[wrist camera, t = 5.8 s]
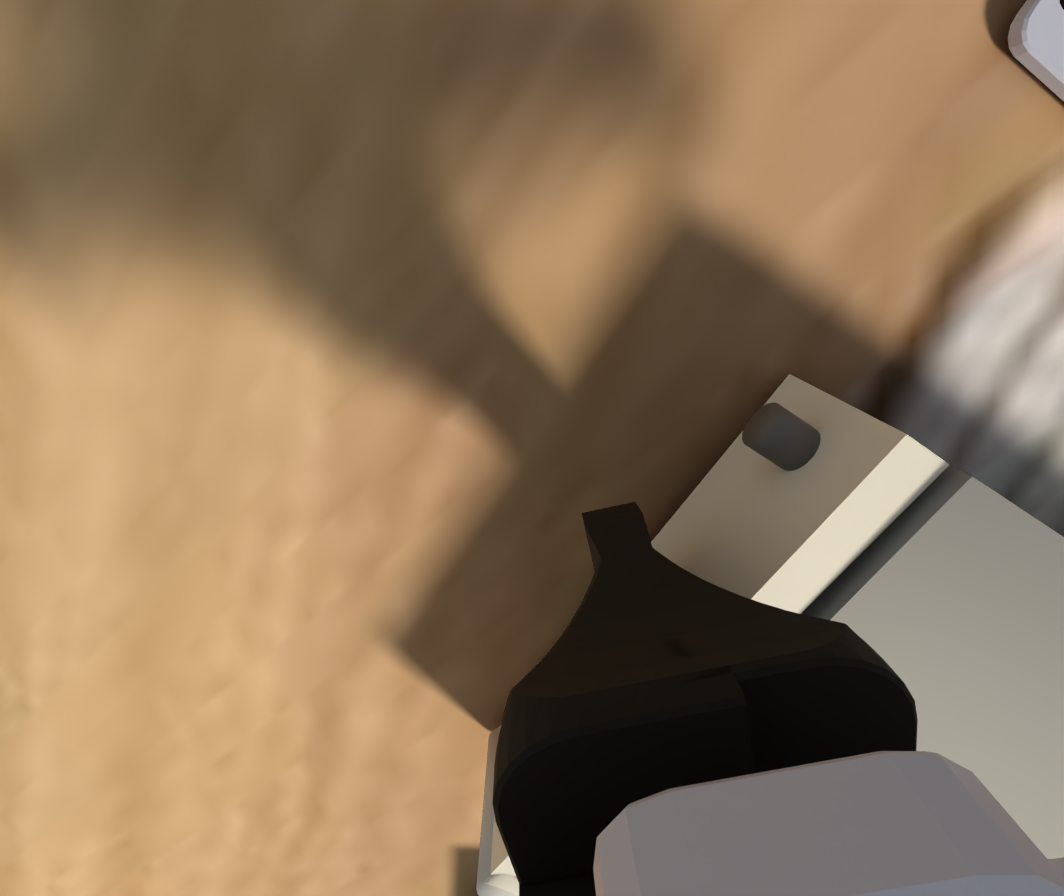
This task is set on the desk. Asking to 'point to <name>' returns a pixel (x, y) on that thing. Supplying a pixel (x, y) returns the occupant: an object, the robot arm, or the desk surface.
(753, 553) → the door
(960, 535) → the gray box
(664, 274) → the desk surface
